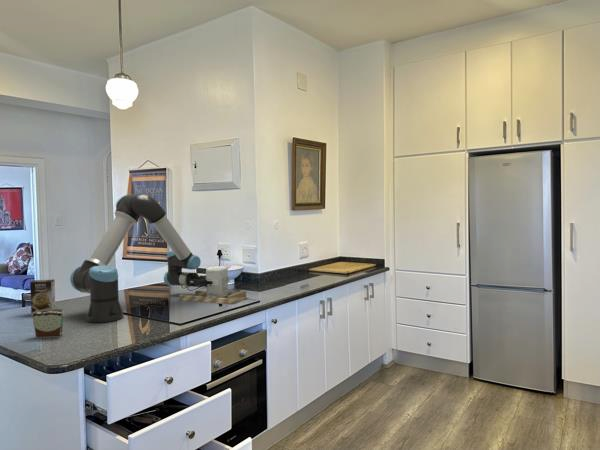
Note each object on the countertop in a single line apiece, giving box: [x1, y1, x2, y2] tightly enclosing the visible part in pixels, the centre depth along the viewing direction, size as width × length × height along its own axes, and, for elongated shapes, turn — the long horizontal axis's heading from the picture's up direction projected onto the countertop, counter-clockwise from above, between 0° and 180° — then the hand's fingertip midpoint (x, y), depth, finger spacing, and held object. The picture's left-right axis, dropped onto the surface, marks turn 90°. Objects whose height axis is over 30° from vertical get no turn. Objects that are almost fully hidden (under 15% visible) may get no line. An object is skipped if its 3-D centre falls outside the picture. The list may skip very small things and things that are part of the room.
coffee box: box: [29, 279, 56, 315], centre depth 210 cm, size 9×6×16 cm
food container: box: [30, 308, 66, 339], centre depth 175 cm, size 12×6×10 cm, turn 92°
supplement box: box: [205, 267, 229, 298], centre depth 235 cm, size 9×9×15 cm
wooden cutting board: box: [179, 289, 247, 305], centre depth 239 cm, size 32×20×4 cm, turn 66°
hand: (224, 281), depth 234 cm, fingers closed on supplement box, 10 cm apart
